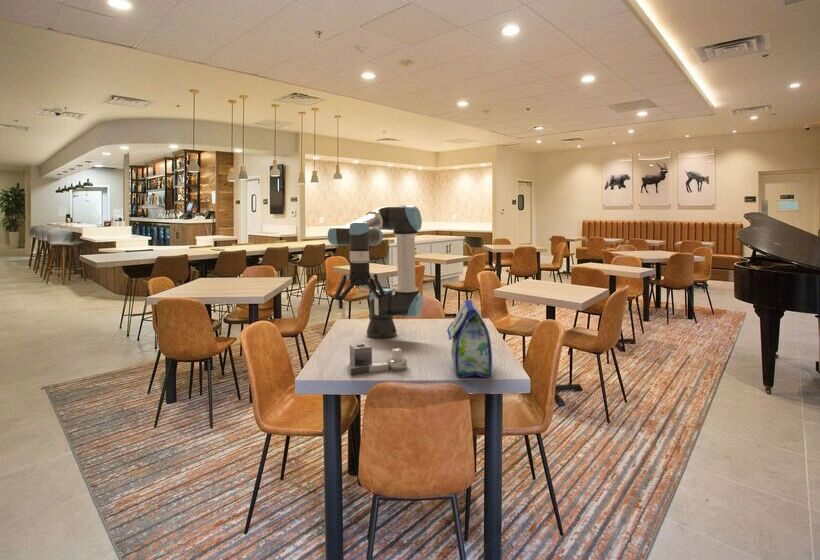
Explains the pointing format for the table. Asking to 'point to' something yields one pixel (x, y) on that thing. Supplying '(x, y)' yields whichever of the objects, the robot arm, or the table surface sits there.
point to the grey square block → (360, 354)
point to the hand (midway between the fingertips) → (360, 315)
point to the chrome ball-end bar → (381, 365)
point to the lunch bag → (470, 343)
